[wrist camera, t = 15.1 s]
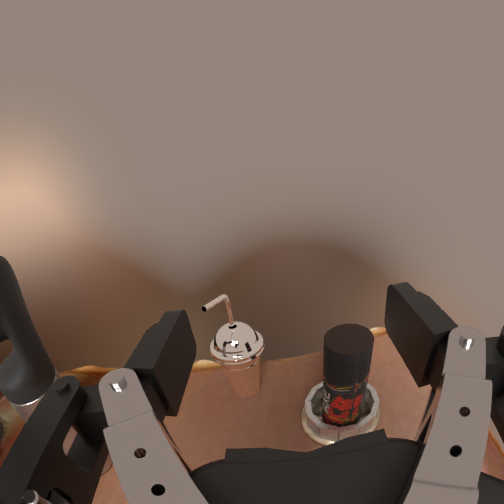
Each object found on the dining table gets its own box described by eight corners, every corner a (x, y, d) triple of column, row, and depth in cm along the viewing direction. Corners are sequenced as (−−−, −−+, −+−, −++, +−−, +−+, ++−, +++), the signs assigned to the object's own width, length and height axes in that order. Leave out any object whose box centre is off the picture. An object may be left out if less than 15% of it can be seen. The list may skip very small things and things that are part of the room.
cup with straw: (281, 387, 43) (268, 284, 37) (239, 416, 38) (210, 312, 32) (250, 366, 49) (232, 270, 43) (211, 389, 44) (180, 292, 38)
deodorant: (313, 416, 35) (313, 341, 30) (339, 394, 38) (343, 318, 33) (343, 436, 30) (354, 361, 25) (368, 410, 33) (383, 333, 28)
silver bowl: (304, 454, 29) (304, 441, 28) (298, 395, 41) (297, 380, 39) (387, 437, 28) (393, 423, 27) (368, 383, 40) (370, 367, 38)
